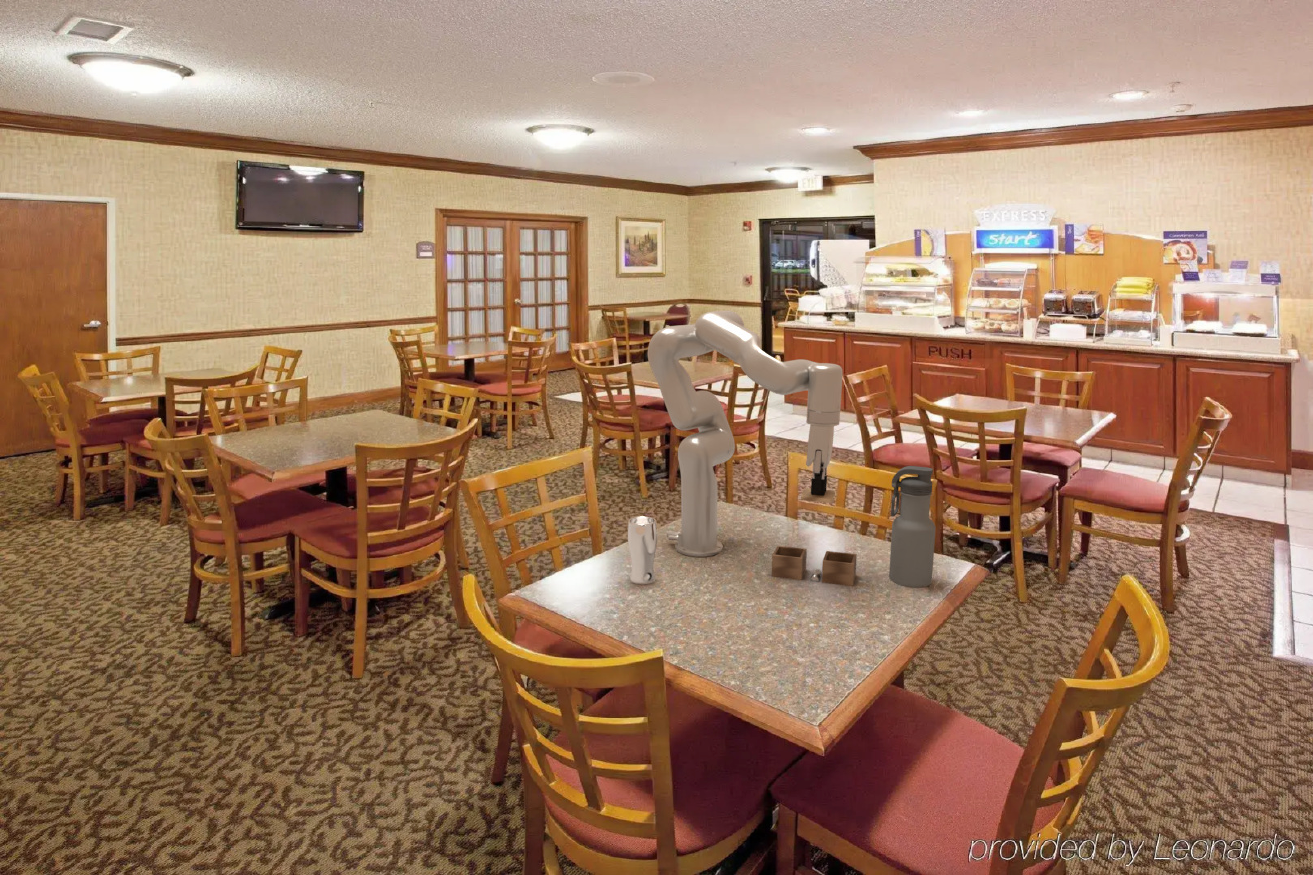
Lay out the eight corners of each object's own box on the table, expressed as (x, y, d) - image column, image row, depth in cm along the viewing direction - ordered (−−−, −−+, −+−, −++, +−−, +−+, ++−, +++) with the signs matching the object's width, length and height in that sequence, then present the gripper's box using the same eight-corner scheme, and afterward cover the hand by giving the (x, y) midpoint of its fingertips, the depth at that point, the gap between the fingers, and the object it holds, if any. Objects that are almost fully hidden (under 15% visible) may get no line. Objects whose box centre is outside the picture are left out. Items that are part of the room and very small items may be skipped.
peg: (812, 585, 190) (820, 582, 189) (808, 578, 190) (816, 575, 189) (815, 578, 195) (823, 575, 194) (811, 571, 195) (819, 568, 194)
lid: (801, 500, 187) (802, 472, 185) (804, 491, 193) (806, 465, 192) (832, 503, 185) (834, 475, 183) (835, 494, 191) (836, 468, 190)
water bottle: (883, 584, 189) (889, 470, 183) (891, 571, 198) (898, 461, 192) (927, 592, 184) (935, 475, 179) (934, 578, 193) (942, 466, 187)
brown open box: (771, 578, 193) (772, 555, 192) (777, 568, 200) (777, 545, 199) (801, 582, 191) (802, 558, 190) (805, 571, 197) (806, 548, 196)
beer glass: (623, 582, 191) (622, 522, 188) (637, 572, 197) (636, 514, 194) (648, 587, 188) (648, 526, 185) (662, 577, 194) (661, 518, 191)
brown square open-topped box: (821, 584, 189) (822, 560, 188) (825, 574, 196) (826, 550, 195) (852, 588, 187) (853, 564, 186) (855, 577, 194) (856, 554, 192)
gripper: (811, 410, 193) (807, 483, 197) (801, 422, 178) (797, 501, 183) (843, 412, 191) (838, 486, 195) (836, 424, 176) (830, 504, 180)
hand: (818, 492), depth 189 cm, fingers closed on lid
